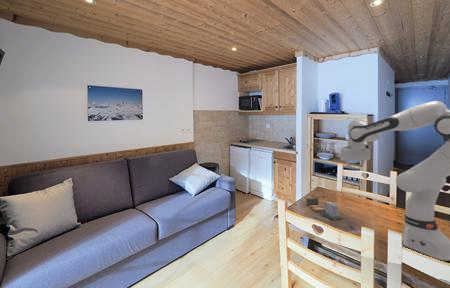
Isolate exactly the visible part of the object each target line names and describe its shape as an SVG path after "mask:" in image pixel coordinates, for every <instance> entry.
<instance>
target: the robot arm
mask: <svg viewBox="0 0 450 288" xmlns="http://www.w3.org/2000/svg"><path fill="white" fill-rule="evenodd" d="M431 125H434V126H433V128H434V130H435V132H436V133H437V134H438V135H439V136H441V137H442V139H443V140H444V141H445V143H444V144H443V145H442V146H441V147H439V148H438V149H437V150H436V151H435V152H433V153H432V154H431V155H430V156H429V157H427V158H425V159H424V160H422V161H421V162H419V163H417V164H416V165H414V166H412V167H410V168H409V169H407V170H406V171H403V172H401V173H399V174H398V175H397V176H396V178H395V179H396V180H395V182H396V183H395V184H396V186H397V187H398V188H399V190H401V191H404V192H407V193H411V194H410V196H408V198H407V199H406V202H405V214H404V220H403V221H404V223H405V224H404V229H403V233H402V236H403V242H402V245H403V246H404V247H406V248H408V249H411V250H414V251H416V252H418V253H421V254H423V255H426V256H428V257H431V258H433V259H435V258H436V260H438V259H439V261H444V262H445V261H448V262H449V261H450V238H449V237H447V236H446V235H445V234H444V233H443V232H442V231H441V230H440V229H439V228H438V227H440V226H441V223H437V221H436V220H435V208H436V207H435V206H436V203H437V200H438V197H439V194H440V192H441V190H442V188H444V186H445V185H446V183H447V178H448V177H450V109H449V108H448V106H447V105H446V104H445V103H444V102H442V101H440V100H432V101H429V102H428V101H427V102H424V103H421V104H418V105H417V104H416V105H415V106H412V107H409V108H407V109H405V110H402V111H400V112H397V113H396V114H393V115H391V116H389V117H386V118H384V119H380V120H378V121H374V122H371V123H368V124H367V123H366V122H364V120H354V121H351V122H349V124H348V127H347V146H343V147H341V150H340V156H339V159H340V161H342V162H344V163H345V165H346V168H347V169H350V168H351V167H352V164H350V163H351V162H352V161H354V162H355V161H360V164H358V166H359V168H363V167H364V165H365V162H366V161H369V160H370V159H371V150H370V149H371V145H369V144H367V143H368V142H374V141H375V142H376V141H378V140H379V139H380V136H381V134H382V133H383V132H391V131H392V132H393V131H395V132H396V131H400V132H401V131H411V130H412V131H413V130H417V129H422V128H425V127H428V126H431ZM366 142H367V143H366Z"/></svg>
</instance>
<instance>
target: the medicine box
mask: <svg viewBox="0 0 450 288" xmlns="http://www.w3.org/2000/svg"><path fill="white" fill-rule="evenodd" d="M324 208H325V214H327V215H328V216H330V217H339V205H338V204H336V203H334V202H331V201H327V202H324Z"/></svg>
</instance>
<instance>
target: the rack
mask: <svg viewBox="0 0 450 288" xmlns="http://www.w3.org/2000/svg"><path fill="white" fill-rule="evenodd" d="M305 201H306V205H307V206H306V205H305V206H306V207H307V208H309V207H310V208H311V209H310V208H309V209H310V210H312V211H313V210H314V211H313V212H314V213H316V212H318V213H320V211H325V207H323V206H321V205H319V198H318V197H314V198H313V197H312V198H306V200H305ZM312 205H319V206H312Z"/></svg>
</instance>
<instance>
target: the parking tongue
mask: <svg viewBox="0 0 450 288" xmlns="http://www.w3.org/2000/svg"><path fill="white" fill-rule="evenodd" d="M319 215H322V216H324V217H325V218H327V219H328V220H330V221H339V220H342V216H338V217H330V216H328V215H327V214H325V211H320V212H319Z"/></svg>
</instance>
